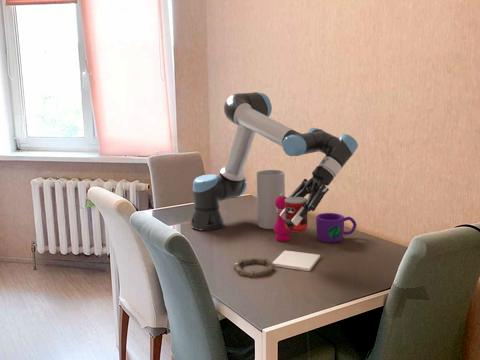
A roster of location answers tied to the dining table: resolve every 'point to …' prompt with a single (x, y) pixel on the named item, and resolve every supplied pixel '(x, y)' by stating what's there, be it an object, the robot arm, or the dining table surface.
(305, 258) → the coaster
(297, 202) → the canned food
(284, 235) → the pepper mill
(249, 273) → the wooden polygonal ring
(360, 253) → the dining table surface
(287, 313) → the dining table surface
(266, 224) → the cylinder vase
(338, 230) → the mug
